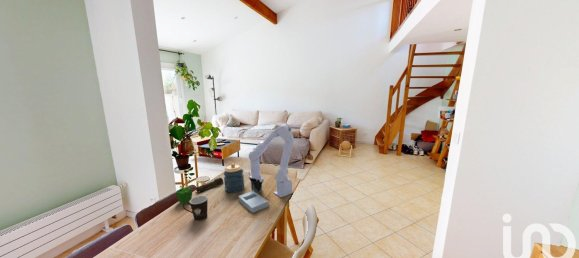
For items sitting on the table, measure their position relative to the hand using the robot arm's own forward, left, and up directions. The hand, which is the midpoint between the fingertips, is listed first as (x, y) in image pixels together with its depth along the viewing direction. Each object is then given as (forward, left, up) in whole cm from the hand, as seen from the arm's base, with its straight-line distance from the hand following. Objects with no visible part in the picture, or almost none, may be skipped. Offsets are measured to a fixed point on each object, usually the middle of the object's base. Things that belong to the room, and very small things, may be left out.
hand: (256, 188), depth 137 cm
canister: (+9, -14, -2) cm, 17 cm away
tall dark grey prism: (0, 0, -2) cm, 2 cm away
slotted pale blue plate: (+9, +12, -2) cm, 15 cm away
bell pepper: (+39, -17, -2) cm, 43 cm away
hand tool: (+21, -27, -2) cm, 35 cm away
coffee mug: (+37, +4, -2) cm, 38 cm away
